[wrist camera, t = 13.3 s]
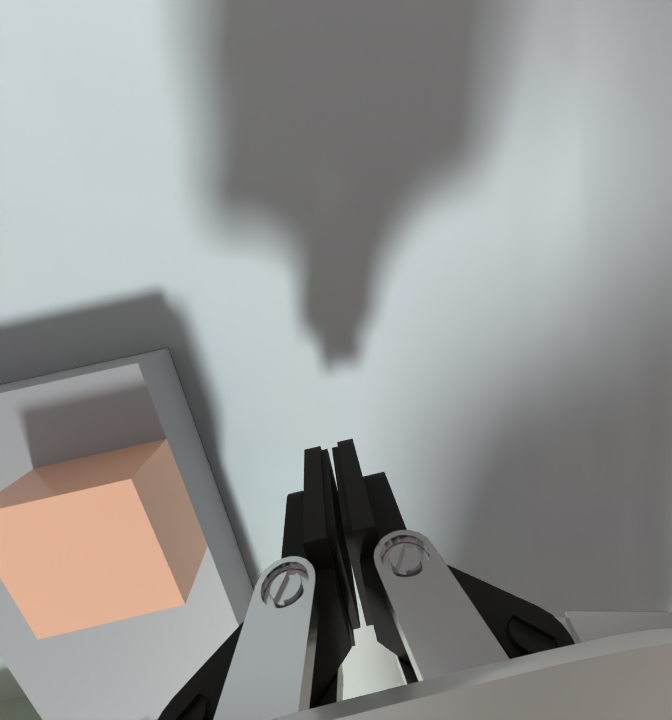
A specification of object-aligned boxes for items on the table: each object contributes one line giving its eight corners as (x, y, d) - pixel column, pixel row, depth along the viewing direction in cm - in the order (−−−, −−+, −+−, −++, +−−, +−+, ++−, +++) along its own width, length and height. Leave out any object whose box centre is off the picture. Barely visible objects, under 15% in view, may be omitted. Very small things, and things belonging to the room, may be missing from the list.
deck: (168, 347, 14) (137, 362, 11) (270, 638, 18) (264, 693, 16) (-70, 400, 14) (-152, 426, 11) (92, 681, 18) (59, 744, 15)
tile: (166, 438, 12) (130, 478, 10) (207, 545, 13) (185, 604, 11) (32, 468, 12) (-37, 516, 10) (87, 573, 13) (37, 639, 11)
